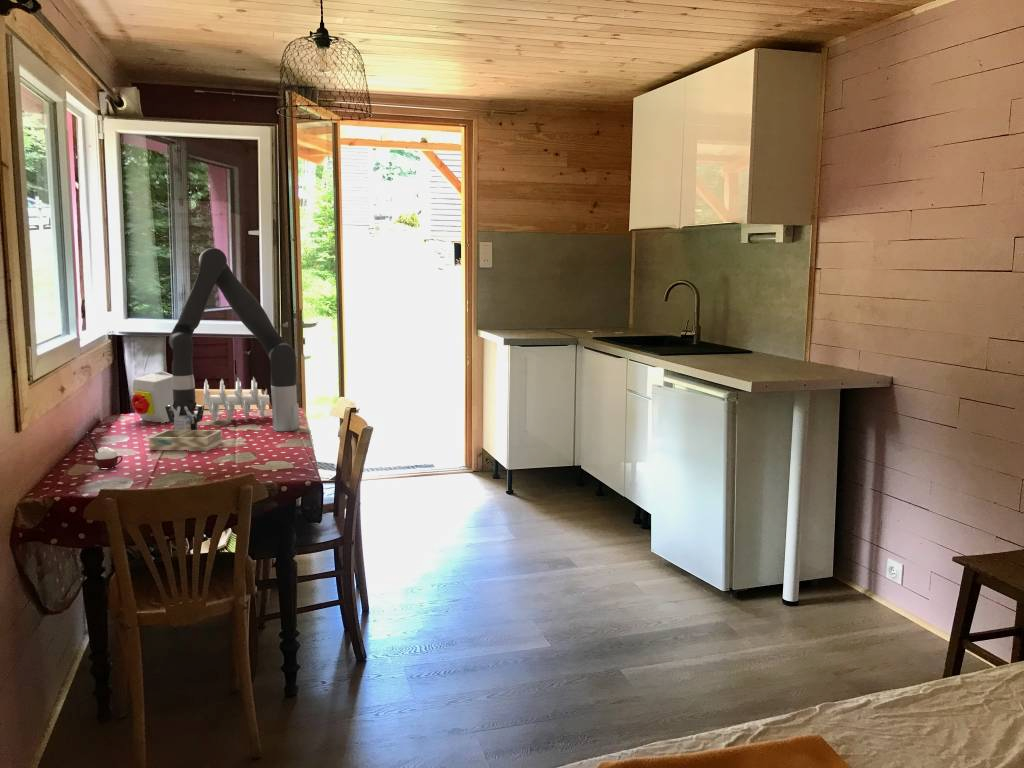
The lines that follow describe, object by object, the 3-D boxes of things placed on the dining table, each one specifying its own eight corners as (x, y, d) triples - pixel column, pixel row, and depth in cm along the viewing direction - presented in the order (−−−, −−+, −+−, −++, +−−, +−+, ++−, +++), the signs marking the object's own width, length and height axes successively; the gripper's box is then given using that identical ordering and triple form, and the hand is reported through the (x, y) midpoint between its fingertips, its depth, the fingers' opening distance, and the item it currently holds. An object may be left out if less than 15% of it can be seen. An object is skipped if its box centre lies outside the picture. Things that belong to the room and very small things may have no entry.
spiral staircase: (269, 430, 326) (203, 431, 318) (268, 405, 340) (205, 405, 332) (270, 393, 316) (202, 393, 308) (269, 369, 330) (204, 368, 322)
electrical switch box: (129, 427, 323) (119, 379, 318) (161, 416, 335) (152, 370, 330) (152, 431, 315) (141, 382, 310) (184, 419, 328) (174, 372, 322)
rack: (222, 442, 286) (221, 430, 286) (206, 451, 273) (205, 438, 272) (167, 442, 287) (167, 429, 287) (149, 450, 274) (148, 437, 273)
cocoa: (123, 466, 255) (123, 428, 254) (119, 470, 249) (118, 432, 248) (91, 466, 253) (90, 429, 252) (85, 471, 247) (84, 432, 246)
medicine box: (186, 440, 289) (184, 417, 288) (174, 440, 290) (173, 416, 289) (198, 436, 297) (197, 413, 296) (187, 435, 298) (186, 412, 296)
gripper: (207, 385, 294) (210, 431, 297) (169, 385, 295) (172, 430, 297) (198, 389, 287) (201, 435, 289) (159, 388, 287) (162, 435, 290)
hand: (186, 433), depth 293 cm, fingers closed on medicine box, 4 cm apart
